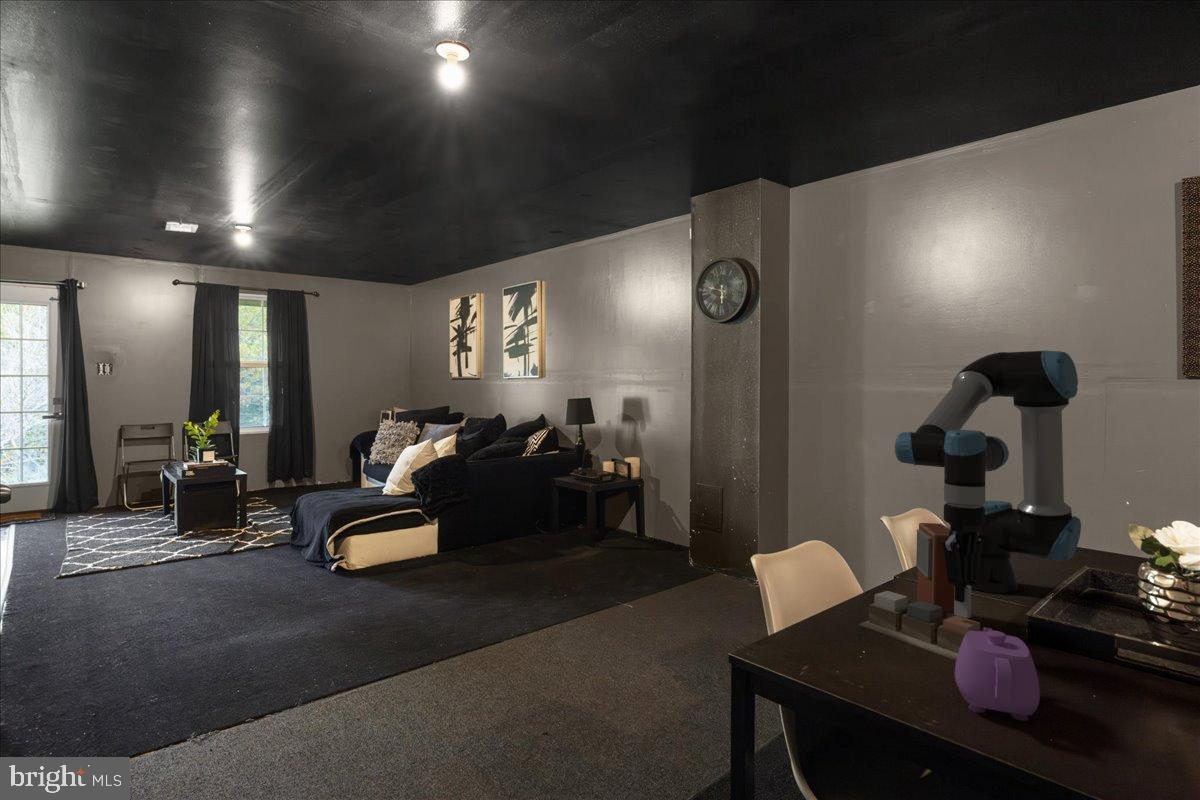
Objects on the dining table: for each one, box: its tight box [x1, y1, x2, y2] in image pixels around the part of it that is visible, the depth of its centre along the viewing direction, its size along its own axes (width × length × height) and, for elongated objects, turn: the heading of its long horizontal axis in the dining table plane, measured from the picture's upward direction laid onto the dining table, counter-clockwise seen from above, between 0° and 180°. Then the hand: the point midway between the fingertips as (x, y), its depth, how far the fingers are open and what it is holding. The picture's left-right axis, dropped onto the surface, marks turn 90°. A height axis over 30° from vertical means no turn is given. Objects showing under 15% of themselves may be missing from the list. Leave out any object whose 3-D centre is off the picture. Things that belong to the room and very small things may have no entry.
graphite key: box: [907, 600, 942, 624], centre depth 141 cm, size 5×5×4 cm
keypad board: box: [858, 603, 984, 661], centre depth 141 cm, size 12×24×4 cm, turn 34°
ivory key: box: [873, 590, 908, 612], centre depth 148 cm, size 5×5×4 cm
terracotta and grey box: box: [915, 522, 957, 619], centre depth 153 cm, size 21×7×15 cm
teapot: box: [954, 627, 1041, 722], centre depth 112 cm, size 20×12×13 cm, turn 156°
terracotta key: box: [943, 616, 981, 635], centre depth 135 cm, size 5×5×4 cm
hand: (962, 615), depth 135 cm, fingers closed
